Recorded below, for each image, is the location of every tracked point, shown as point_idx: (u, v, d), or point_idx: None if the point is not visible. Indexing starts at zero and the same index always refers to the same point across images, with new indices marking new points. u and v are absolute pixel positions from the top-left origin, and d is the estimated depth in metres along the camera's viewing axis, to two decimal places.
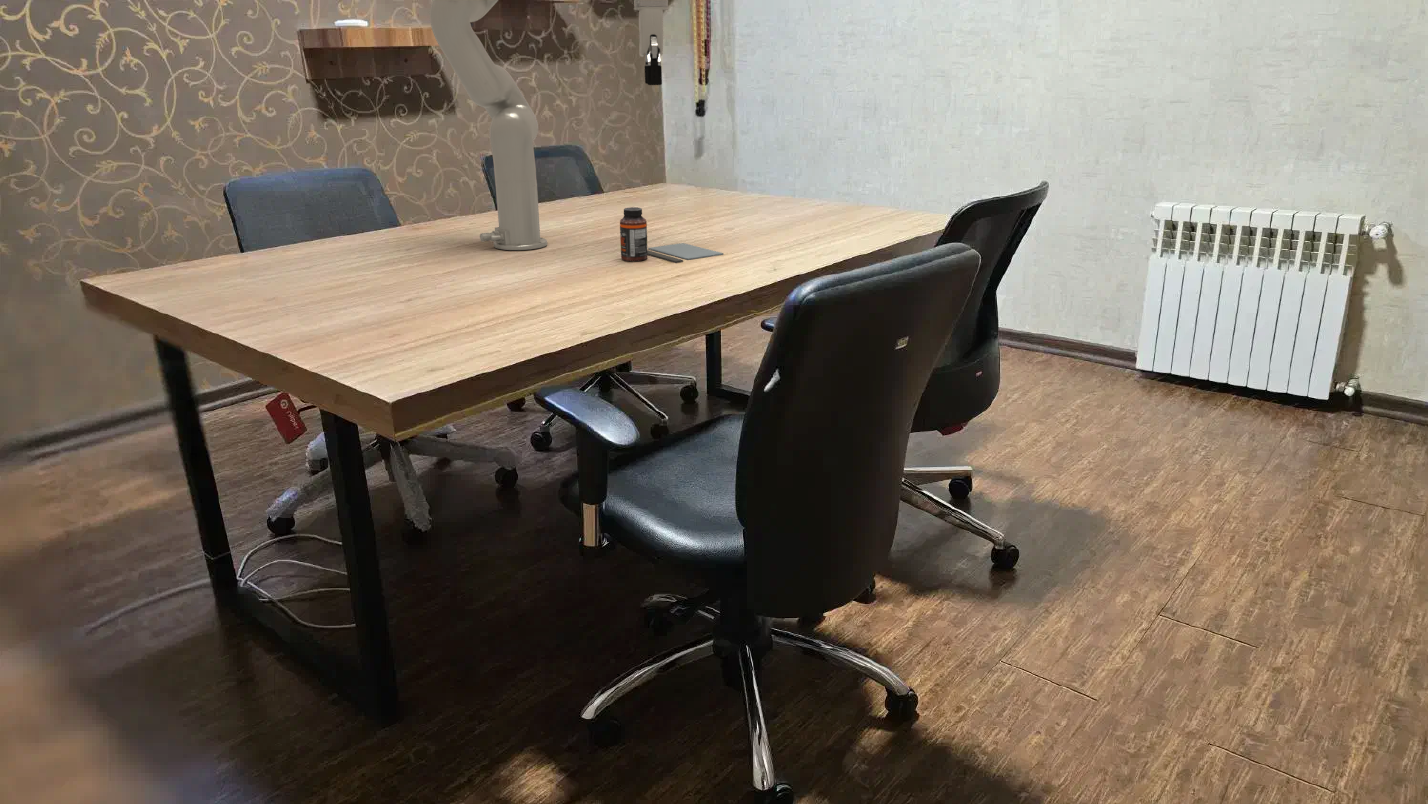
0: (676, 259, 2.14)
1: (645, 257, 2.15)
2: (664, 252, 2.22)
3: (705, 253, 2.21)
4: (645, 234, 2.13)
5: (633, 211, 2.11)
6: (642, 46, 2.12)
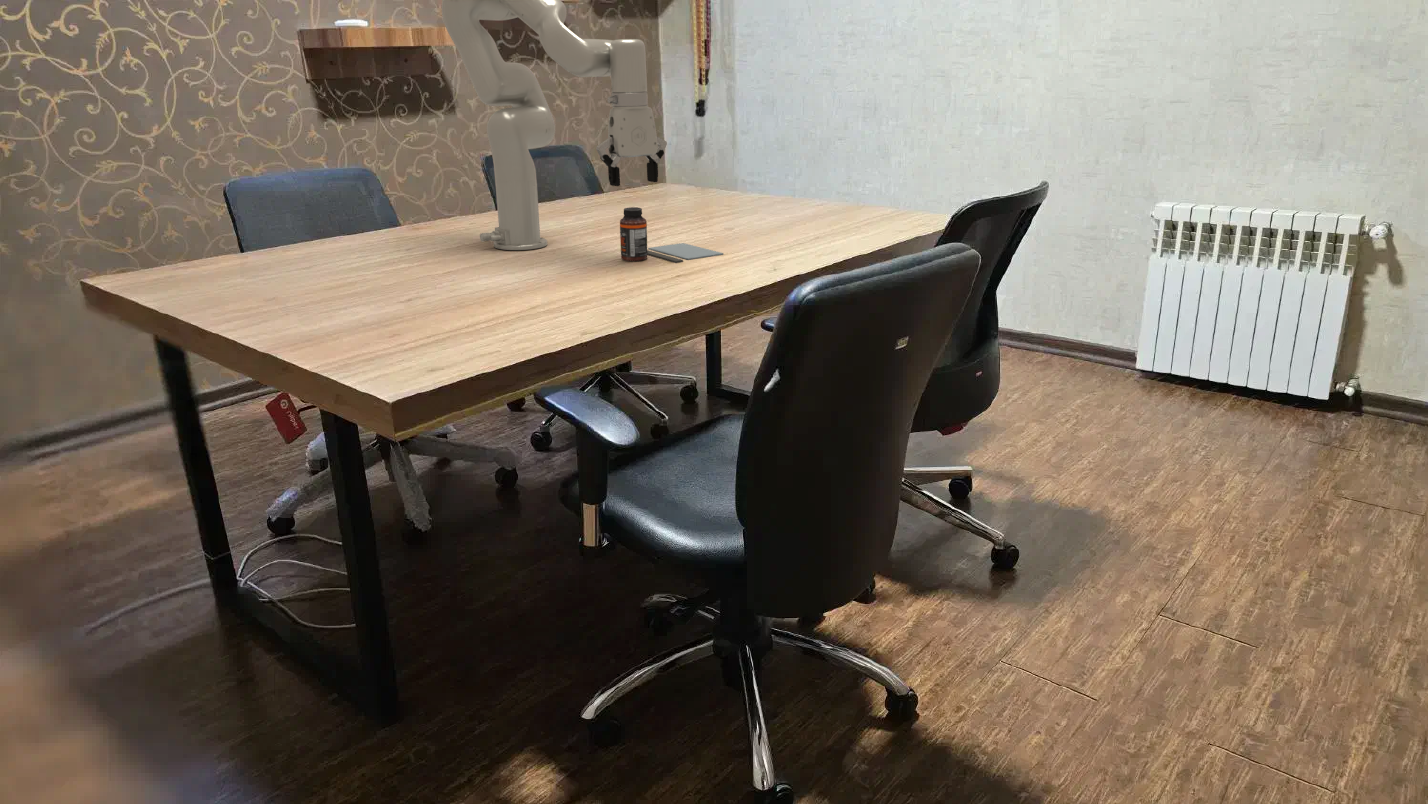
0: (676, 259, 2.14)
1: (645, 257, 2.15)
2: (664, 252, 2.22)
3: (705, 253, 2.21)
4: (645, 234, 2.13)
5: (633, 211, 2.11)
6: (656, 144, 2.08)
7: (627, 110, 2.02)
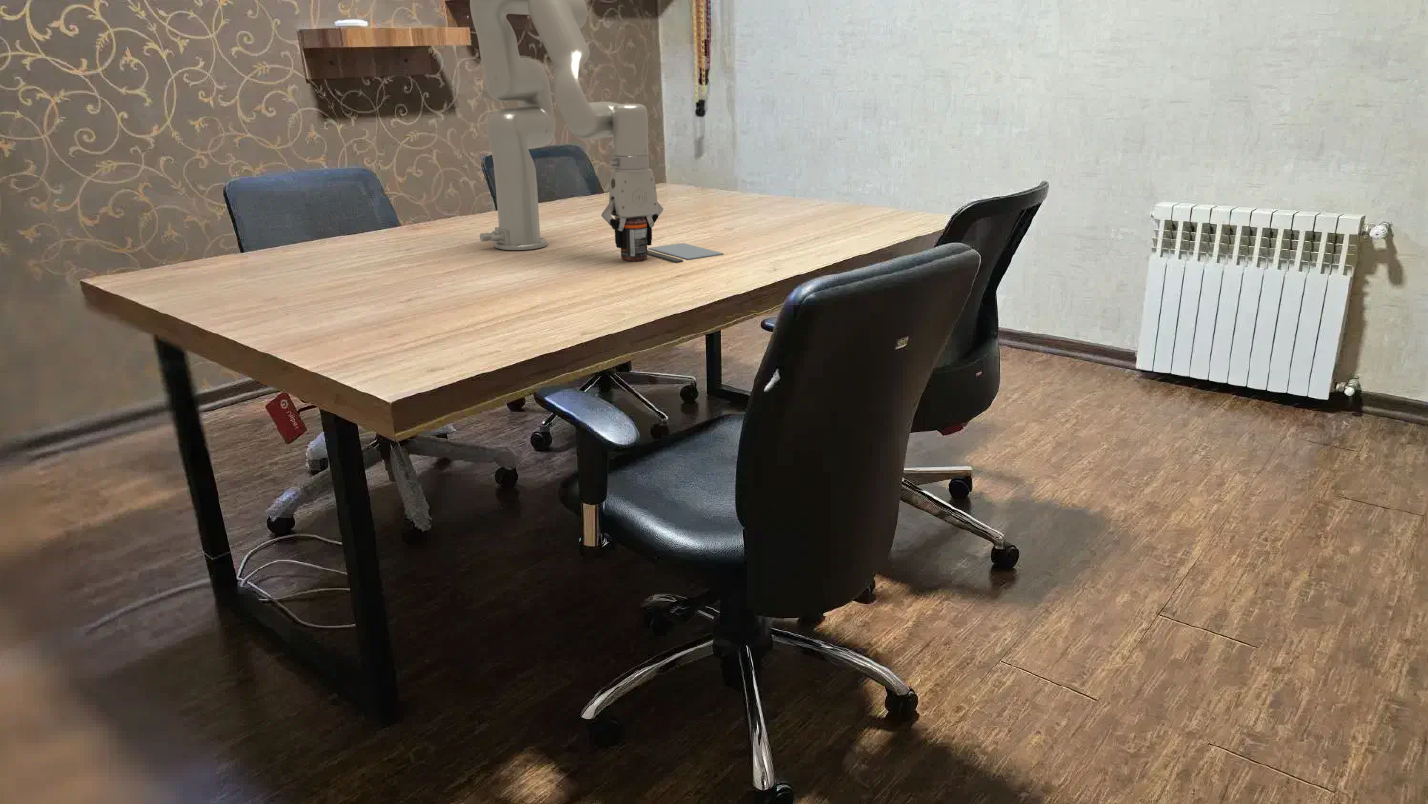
0: (676, 259, 2.14)
1: (645, 257, 2.15)
2: (664, 252, 2.22)
3: (705, 253, 2.21)
4: (645, 234, 2.13)
5: None
6: (656, 204, 2.13)
7: (628, 173, 2.06)
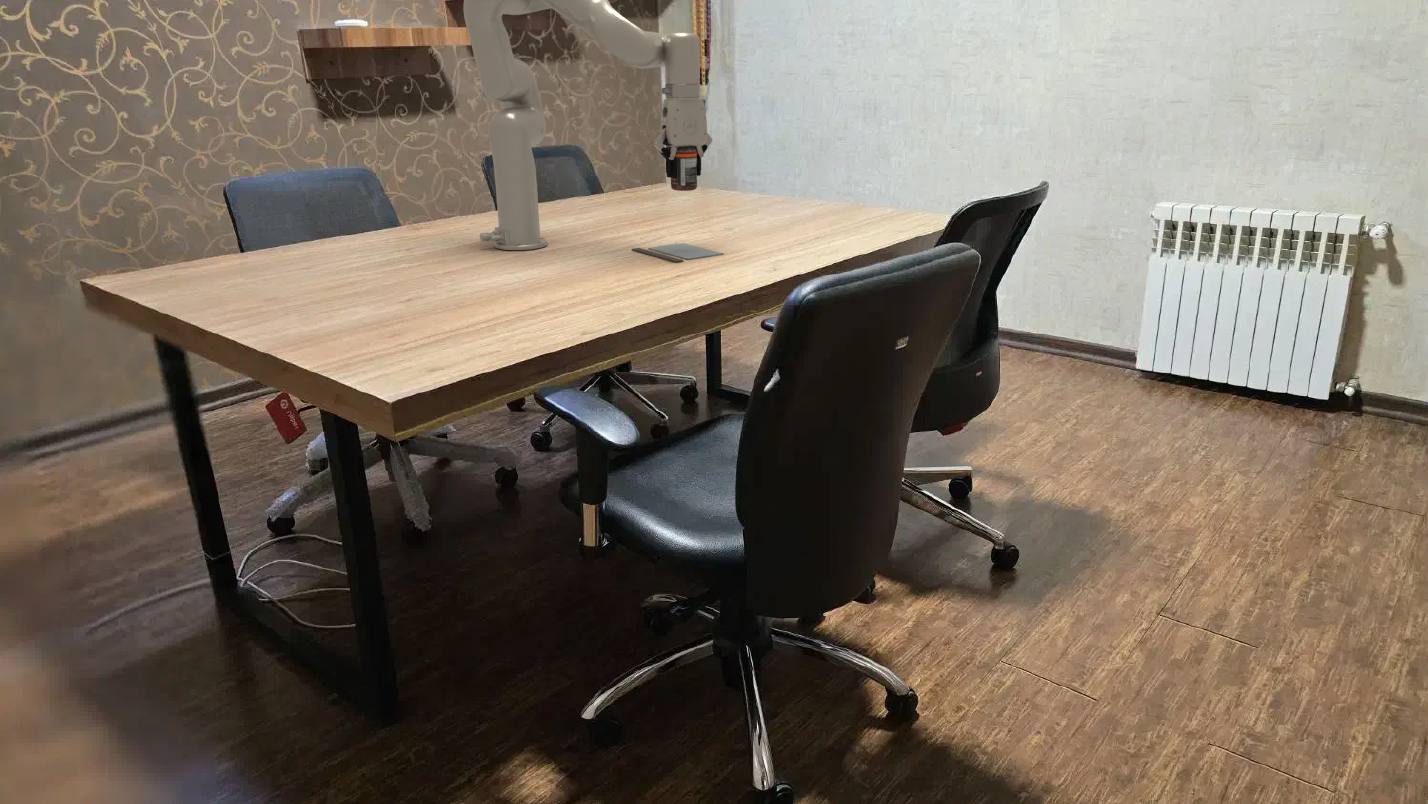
0: (676, 259, 2.14)
1: (695, 187, 2.18)
2: (664, 252, 2.22)
3: (705, 253, 2.21)
4: (695, 163, 2.16)
5: None
6: (706, 134, 2.16)
7: (680, 101, 2.10)
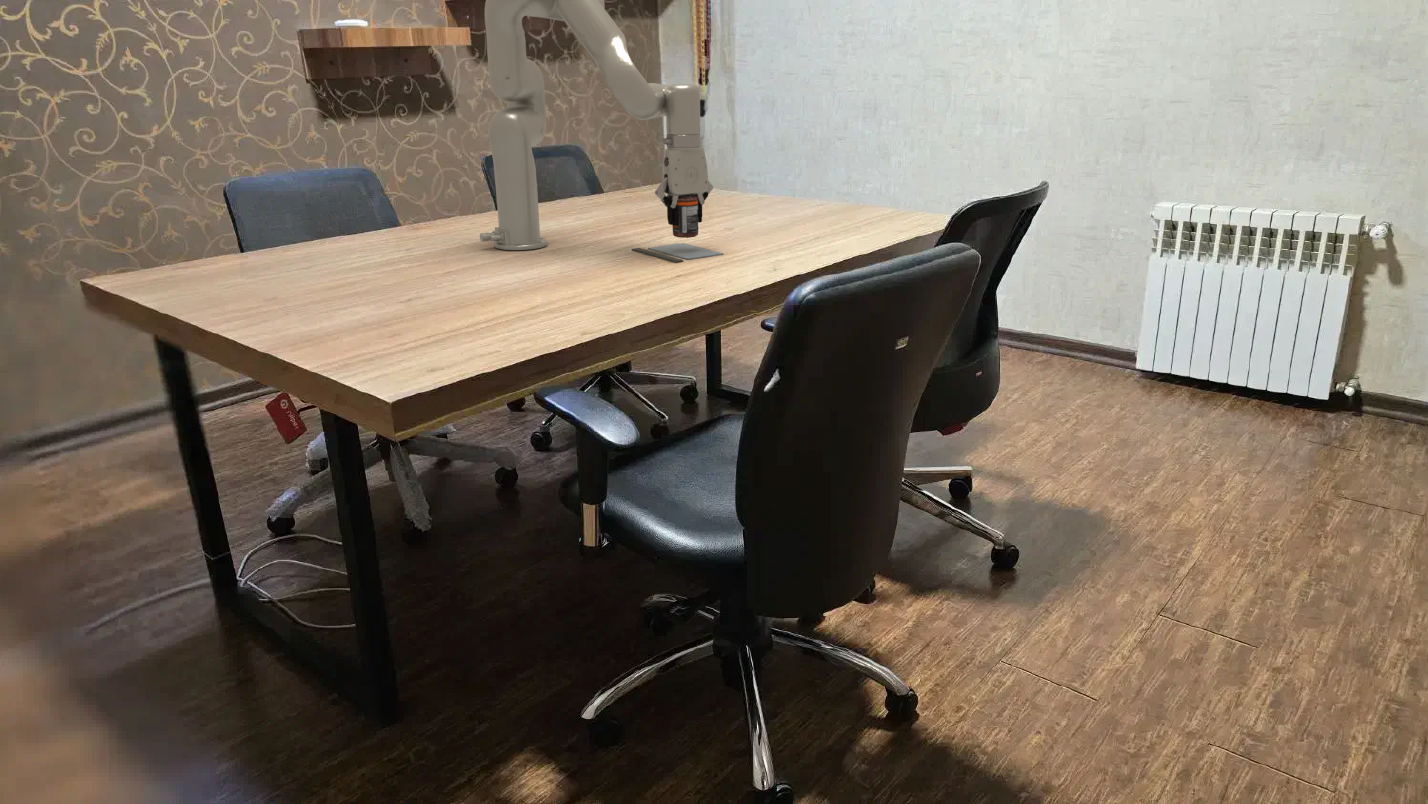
0: (676, 259, 2.14)
1: (696, 233, 2.21)
2: (664, 252, 2.22)
3: (705, 253, 2.21)
4: (697, 211, 2.20)
5: None
6: (707, 182, 2.20)
7: (681, 151, 2.13)
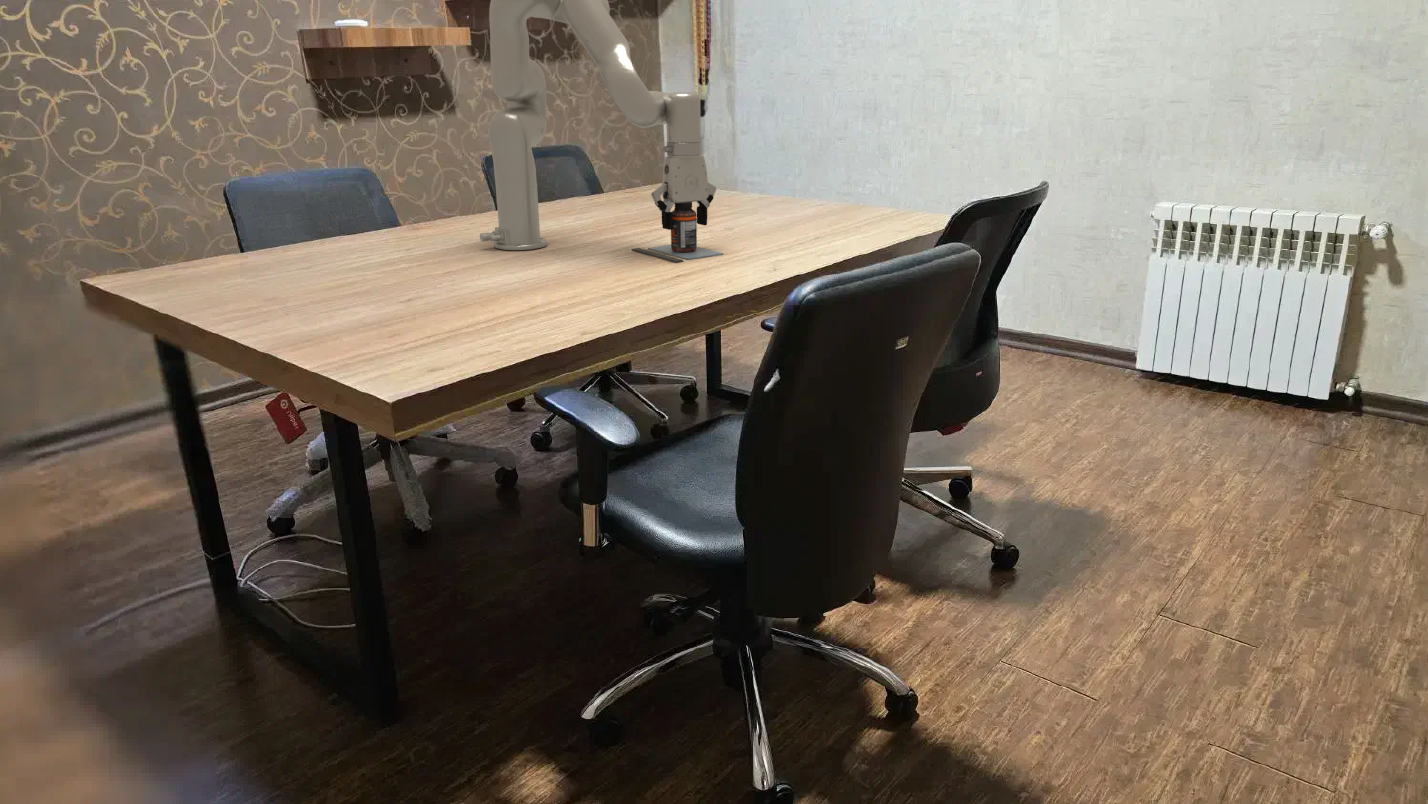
0: (676, 259, 2.14)
1: (695, 248, 2.23)
2: (664, 252, 2.22)
3: (705, 253, 2.21)
4: (695, 226, 2.21)
5: (684, 204, 2.18)
6: (707, 190, 2.20)
7: (682, 159, 2.14)
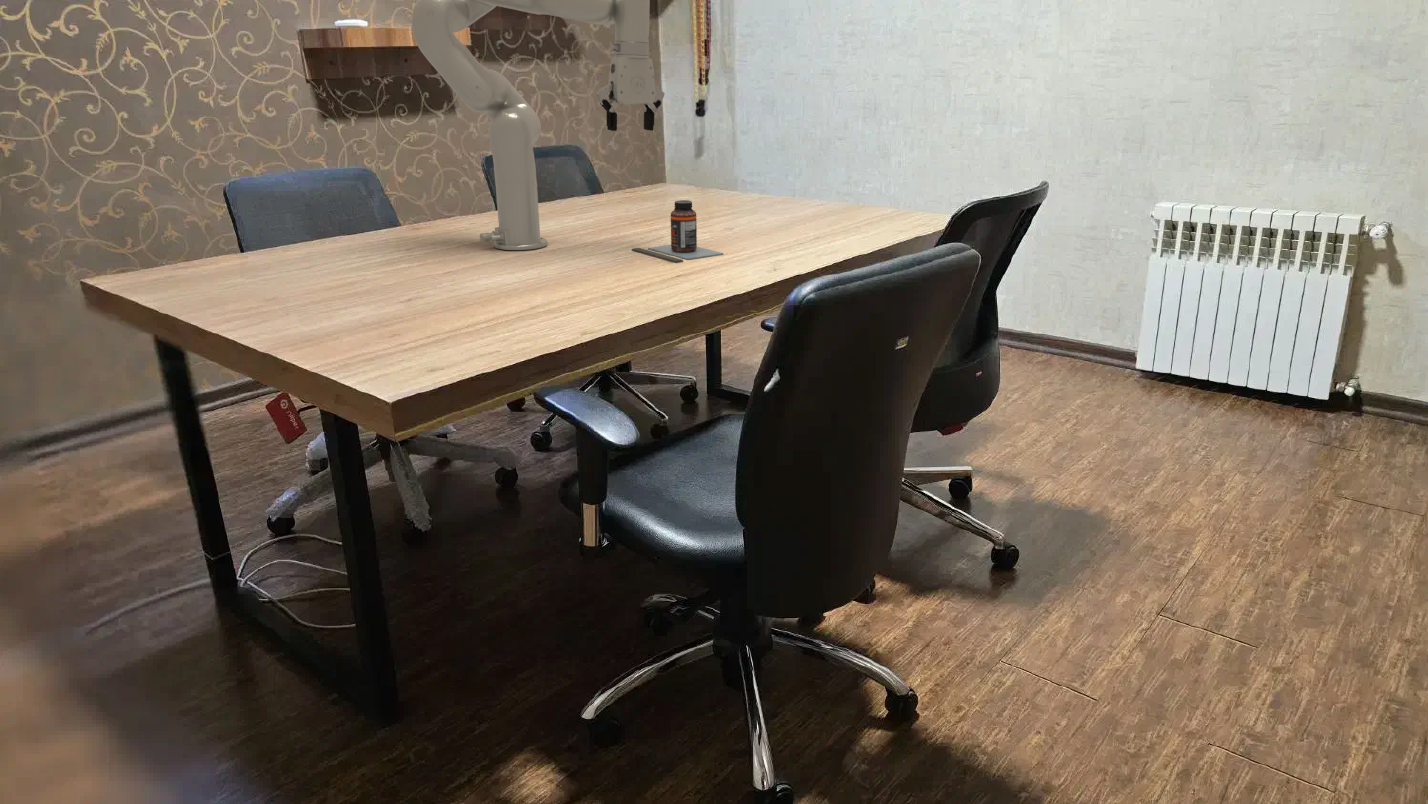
0: (676, 259, 2.14)
1: (695, 248, 2.23)
2: (664, 252, 2.22)
3: (705, 253, 2.21)
4: (695, 226, 2.21)
5: (684, 204, 2.18)
6: (654, 94, 2.19)
7: (628, 58, 2.13)
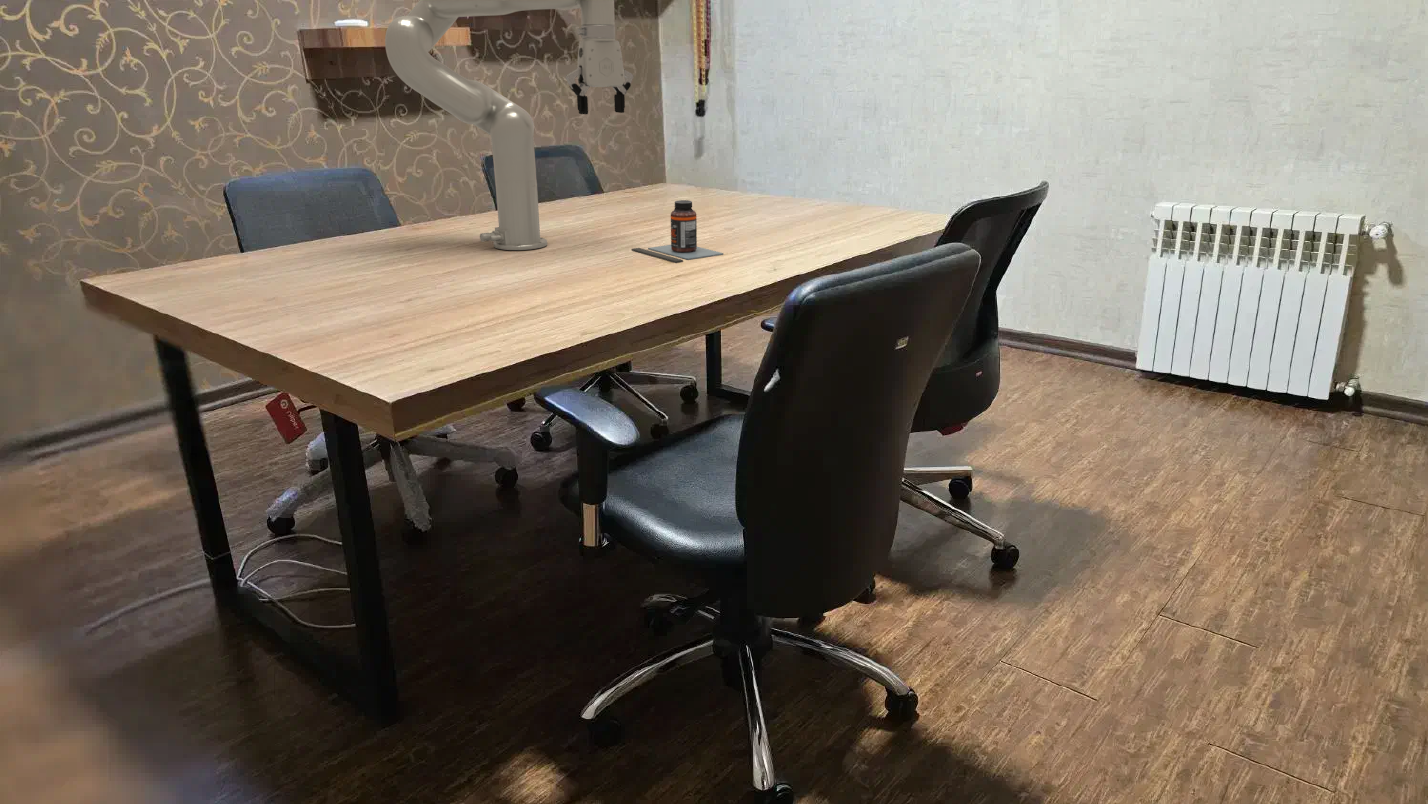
0: (676, 259, 2.14)
1: (695, 248, 2.23)
2: (664, 252, 2.22)
3: (705, 253, 2.21)
4: (695, 226, 2.21)
5: (684, 204, 2.18)
6: (623, 76, 2.22)
7: (595, 42, 2.15)
